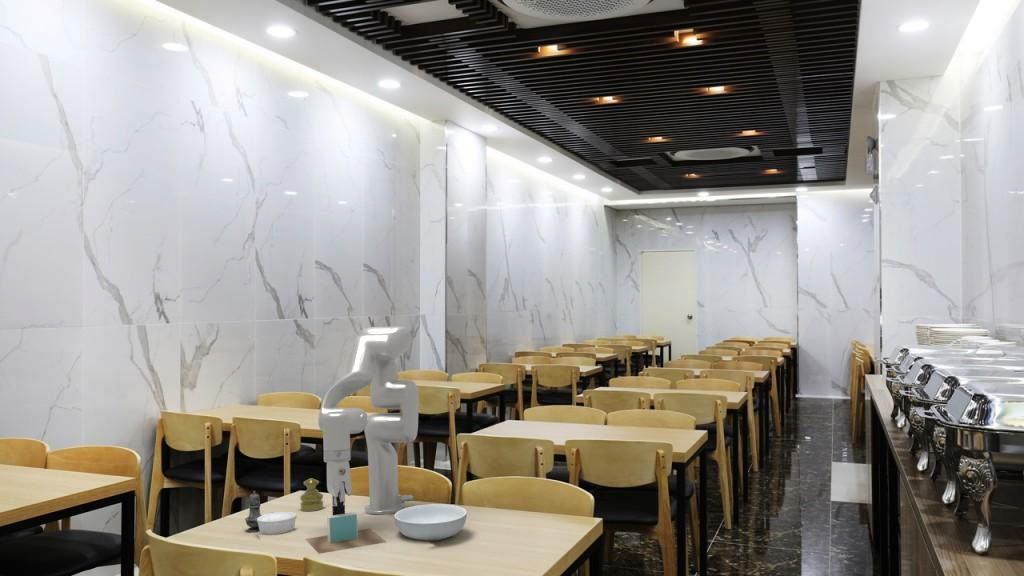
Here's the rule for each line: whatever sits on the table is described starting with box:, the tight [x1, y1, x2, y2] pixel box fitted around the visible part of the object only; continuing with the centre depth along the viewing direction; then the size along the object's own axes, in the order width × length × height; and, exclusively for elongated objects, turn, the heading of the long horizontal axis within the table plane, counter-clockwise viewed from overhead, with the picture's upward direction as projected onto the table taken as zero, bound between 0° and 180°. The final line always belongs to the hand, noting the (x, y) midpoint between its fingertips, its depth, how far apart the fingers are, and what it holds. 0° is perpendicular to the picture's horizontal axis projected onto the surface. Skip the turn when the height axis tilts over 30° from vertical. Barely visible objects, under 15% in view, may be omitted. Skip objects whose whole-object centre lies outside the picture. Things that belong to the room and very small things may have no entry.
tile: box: [326, 511, 358, 543], centre depth 229 cm, size 8×2×7 cm, turn 117°
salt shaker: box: [244, 490, 263, 533], centre depth 247 cm, size 6×6×12 cm
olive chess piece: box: [299, 478, 324, 512], centre depth 271 cm, size 7×7×10 cm
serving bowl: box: [393, 503, 468, 542], centre depth 234 cm, size 21×21×7 cm
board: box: [305, 528, 388, 555], centre depth 229 cm, size 19×16×1 cm
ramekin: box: [257, 511, 297, 535], centre depth 242 cm, size 11×11×5 cm
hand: (338, 519), depth 232 cm, fingers closed
